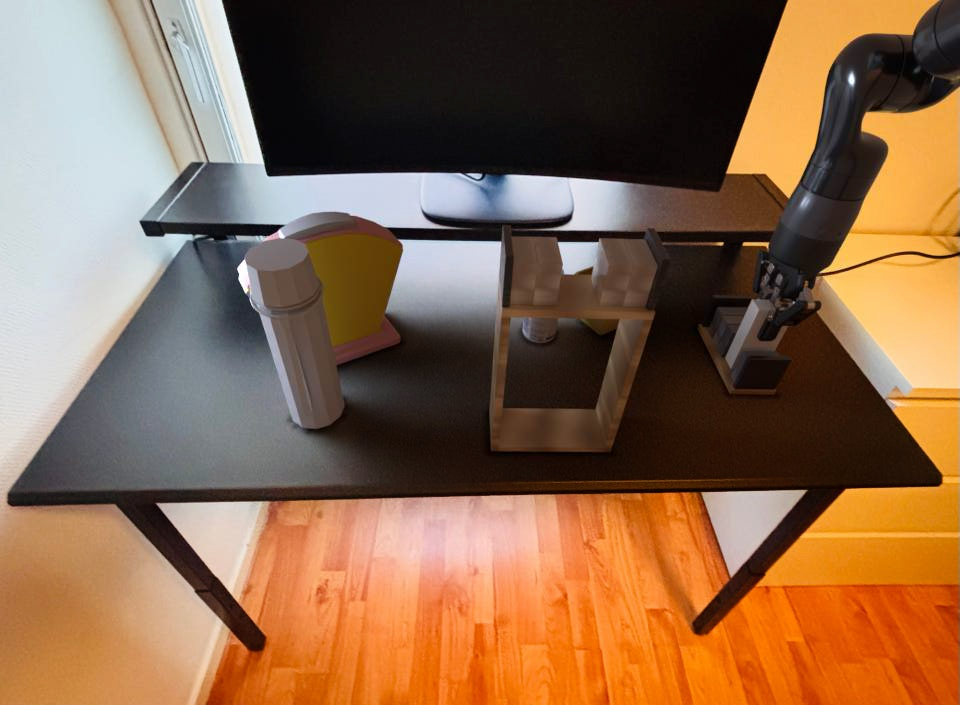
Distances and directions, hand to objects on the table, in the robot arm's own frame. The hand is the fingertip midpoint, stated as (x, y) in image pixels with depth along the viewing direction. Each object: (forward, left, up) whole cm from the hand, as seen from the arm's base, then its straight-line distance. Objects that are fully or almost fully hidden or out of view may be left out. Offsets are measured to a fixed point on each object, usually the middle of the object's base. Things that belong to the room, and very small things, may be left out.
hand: (760, 332), depth 76 cm
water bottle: (+33, +53, -8) cm, 63 cm away
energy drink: (+26, +17, -8) cm, 32 cm away
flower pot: (+21, +7, -8) cm, 24 cm away
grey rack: (+2, -2, -8) cm, 8 cm away
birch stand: (+11, +31, -8) cm, 34 cm away
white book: (0, 0, -6) cm, 6 cm away
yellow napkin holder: (+44, +43, -8) cm, 62 cm away
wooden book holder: (+11, +31, +14) cm, 36 cm away
